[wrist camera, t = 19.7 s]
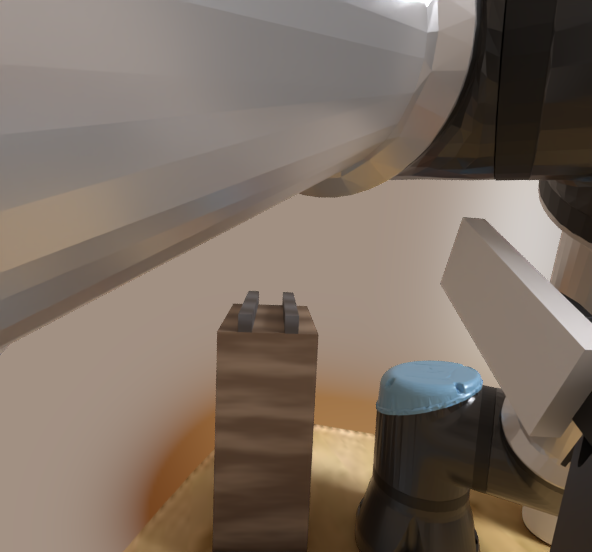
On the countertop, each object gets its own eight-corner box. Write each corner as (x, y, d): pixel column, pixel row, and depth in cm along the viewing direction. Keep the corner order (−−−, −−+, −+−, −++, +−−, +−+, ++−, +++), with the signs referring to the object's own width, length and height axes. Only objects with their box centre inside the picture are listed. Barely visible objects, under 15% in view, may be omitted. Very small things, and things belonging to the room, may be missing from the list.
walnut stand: (306, 565, 46) (319, 316, 42) (212, 565, 45) (217, 313, 42) (298, 479, 62) (307, 293, 58) (228, 478, 61) (233, 290, 58)
